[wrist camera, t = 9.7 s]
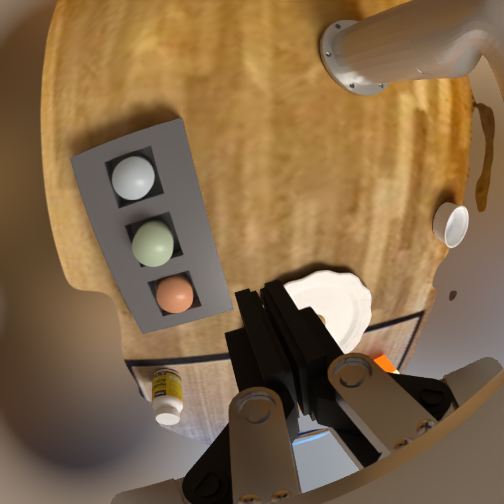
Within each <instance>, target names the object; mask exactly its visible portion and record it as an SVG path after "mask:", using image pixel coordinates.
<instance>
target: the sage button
mask: <svg viewBox="0 0 504 504" xmlns="http://www.w3.org/2000/svg"><path fill="white" fill-rule="evenodd" d="M173 243H174V235H173V232H172V230H171V228H170V227H169V226H168V225H167V224H166V223H165V222H163V221H160V220H149V221H146V222H144V223H143V224H142V225H141V226H140V227H139V229H138V230H137V233H136V235H135V237H134V239H133V243H132V250H133V254H134V256H135V257H136V259H137V260H138V261H139V262H140V263H142V264H144V265H146V266H150V267H157V266H160V265H163V264H164V263H166V262H167V261H168V260H169V259H170V257H171V255H172V252H173Z"/></svg>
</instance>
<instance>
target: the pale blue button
mask: <svg viewBox="0 0 504 504" xmlns="http://www.w3.org/2000/svg"><path fill="white" fill-rule="evenodd" d="M155 178H156V170H155V167H154V165H153V163H152V162H151V161H150V160H149V159H148V158H146V157H144V156H139V155H136V156H132V157H129V158H127V159H124V160H123V161H121V162H120V163H119V164H118V165H117V166H116V168H115V169H114V172H113V175H112V183H113V187H114V189H115V191H116V192H117V193H118V194H119V195H120V196H121V197H123V198H125V199H128V200H136V199H139V198H141V197H143V196H145V195H146V194H147V193H148V192H149V190H150V189H151V187H152V186H153V184H154V182H155Z"/></svg>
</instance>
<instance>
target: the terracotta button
mask: <svg viewBox="0 0 504 504" xmlns="http://www.w3.org/2000/svg"><path fill="white" fill-rule="evenodd" d="M157 301H158V304H159V305H160V307H161V308H162V309H164V310H165V311H167V312H171V313H180V312H183V311H185V310H187V309H188V308H189V307H190V306H191V304H192V302H193V291H192V282H191V280H190V278H189V277H188V276H187V275H186V274H184V273H182V272H181V273H177V274H174V275H171V276H167V277H164V278H160V280H159V283H158V290H157Z"/></svg>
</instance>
